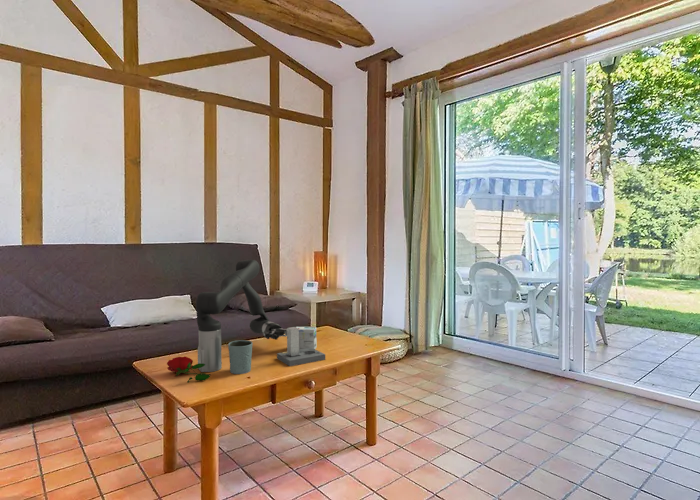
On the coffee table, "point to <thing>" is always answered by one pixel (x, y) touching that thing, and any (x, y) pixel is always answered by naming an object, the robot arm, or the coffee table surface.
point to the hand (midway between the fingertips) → (285, 336)
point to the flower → (186, 367)
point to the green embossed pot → (240, 356)
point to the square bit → (292, 342)
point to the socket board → (301, 357)
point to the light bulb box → (307, 337)
